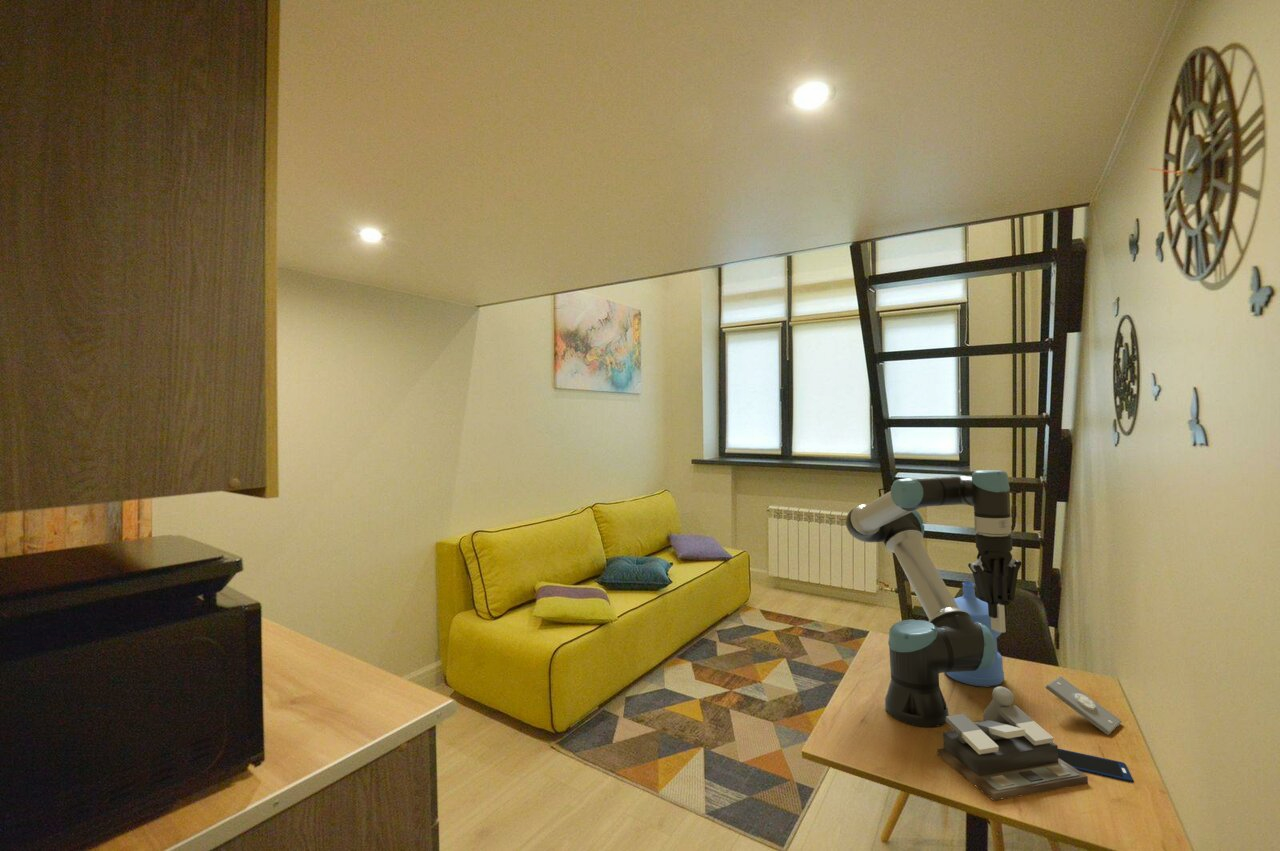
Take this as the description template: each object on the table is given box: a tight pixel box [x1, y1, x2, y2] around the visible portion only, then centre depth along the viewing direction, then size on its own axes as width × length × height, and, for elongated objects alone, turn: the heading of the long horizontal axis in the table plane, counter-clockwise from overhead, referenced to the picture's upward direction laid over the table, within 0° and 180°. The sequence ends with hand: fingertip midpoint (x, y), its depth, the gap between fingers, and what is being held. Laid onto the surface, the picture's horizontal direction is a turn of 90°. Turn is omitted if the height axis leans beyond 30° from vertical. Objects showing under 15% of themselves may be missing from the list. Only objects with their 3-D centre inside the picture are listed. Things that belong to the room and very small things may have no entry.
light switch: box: [1045, 675, 1123, 736], centre depth 139 cm, size 8×6×14 cm
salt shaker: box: [982, 685, 1015, 723], centre depth 133 cm, size 6×6×13 cm
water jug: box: [945, 581, 1005, 688], centre depth 165 cm, size 16×16×28 cm
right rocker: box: [998, 704, 1055, 746], centre depth 125 cm, size 10×5×3 cm, turn 11°
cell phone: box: [1058, 748, 1134, 783], centre depth 121 cm, size 7×14×1 cm, turn 59°
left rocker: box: [946, 713, 999, 754], centre depth 122 cm, size 10×5×3 cm, turn 11°
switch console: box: [937, 722, 1089, 801], centre depth 121 cm, size 16×23×5 cm
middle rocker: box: [974, 720, 1026, 740], centre depth 123 cm, size 10×5×3 cm, turn 9°
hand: (998, 630), depth 132 cm, fingers closed
